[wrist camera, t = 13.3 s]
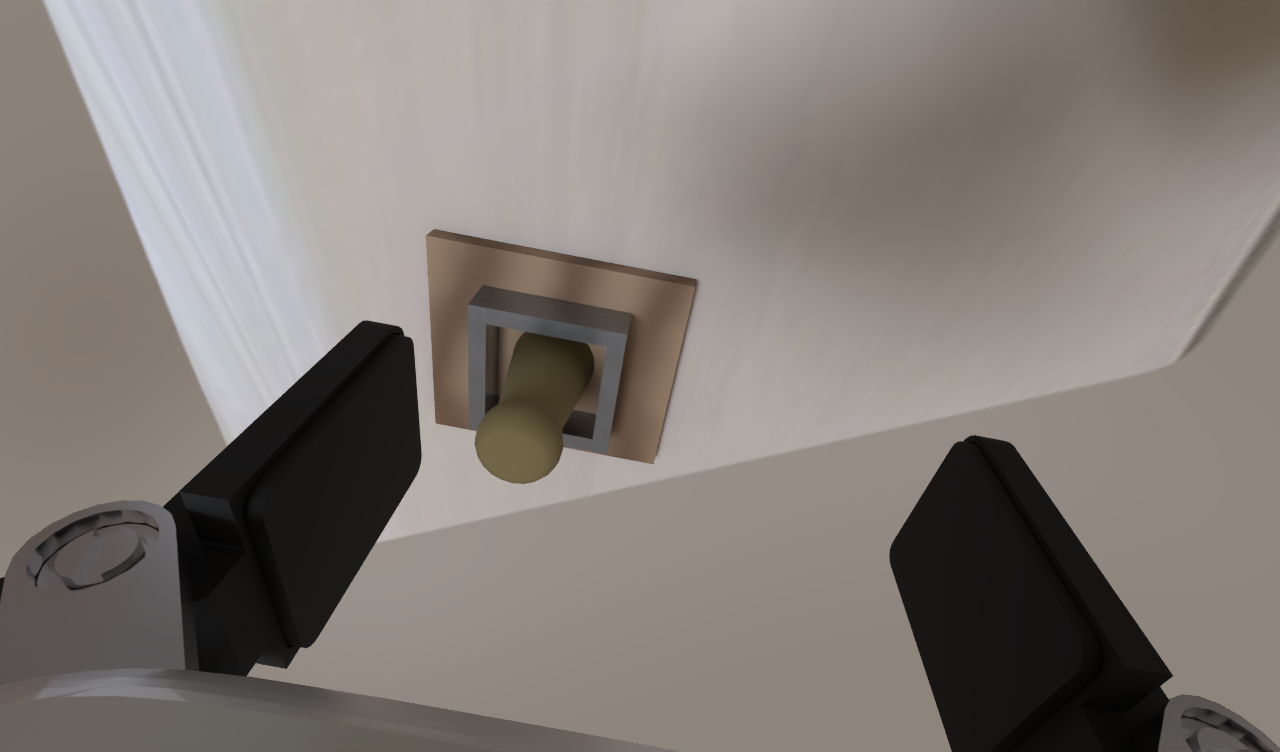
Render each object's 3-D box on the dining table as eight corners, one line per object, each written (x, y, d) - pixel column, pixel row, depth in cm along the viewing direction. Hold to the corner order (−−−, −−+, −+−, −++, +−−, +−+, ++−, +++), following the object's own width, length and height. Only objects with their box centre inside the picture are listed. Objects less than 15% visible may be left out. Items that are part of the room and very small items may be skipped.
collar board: (695, 279, 39) (695, 286, 38) (654, 454, 47) (653, 464, 46) (433, 229, 38) (425, 235, 37) (441, 414, 47) (435, 423, 46)
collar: (632, 313, 39) (627, 334, 37) (612, 429, 45) (606, 454, 42) (482, 285, 39) (467, 304, 36) (481, 404, 45) (468, 428, 42)
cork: (590, 400, 44) (559, 507, 34) (512, 386, 43) (460, 489, 34) (599, 332, 40) (567, 430, 31) (514, 317, 40) (458, 410, 31)
